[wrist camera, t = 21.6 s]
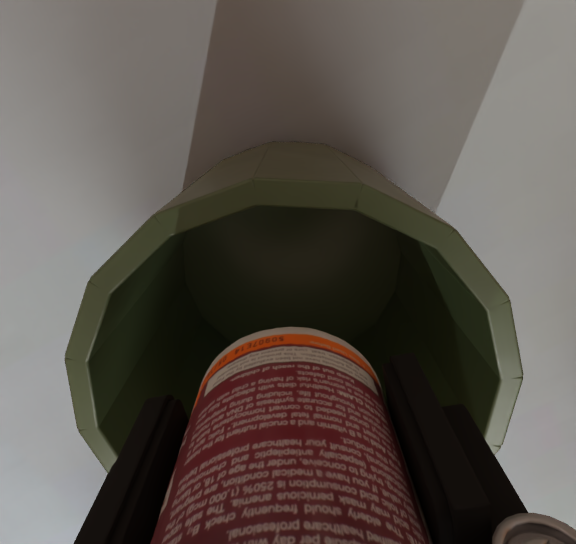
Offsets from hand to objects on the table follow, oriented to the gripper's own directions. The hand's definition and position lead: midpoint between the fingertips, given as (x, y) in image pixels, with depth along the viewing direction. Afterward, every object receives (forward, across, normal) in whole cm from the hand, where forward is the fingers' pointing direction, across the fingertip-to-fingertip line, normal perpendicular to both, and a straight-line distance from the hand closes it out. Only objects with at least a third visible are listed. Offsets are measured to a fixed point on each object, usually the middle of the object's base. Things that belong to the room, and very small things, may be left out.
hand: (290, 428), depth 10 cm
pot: (+11, 0, 0) cm, 11 cm away
